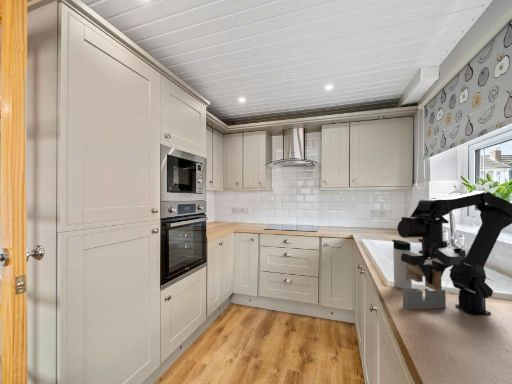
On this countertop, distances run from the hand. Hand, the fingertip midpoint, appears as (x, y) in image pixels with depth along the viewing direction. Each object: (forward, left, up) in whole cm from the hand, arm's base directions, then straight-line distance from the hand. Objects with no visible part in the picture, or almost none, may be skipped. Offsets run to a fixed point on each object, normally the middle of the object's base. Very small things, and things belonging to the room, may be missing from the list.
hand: (433, 283), depth 77 cm
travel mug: (-4, -20, -10) cm, 23 cm away
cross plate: (0, -4, -2) cm, 4 cm away
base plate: (0, -4, -10) cm, 10 cm away
